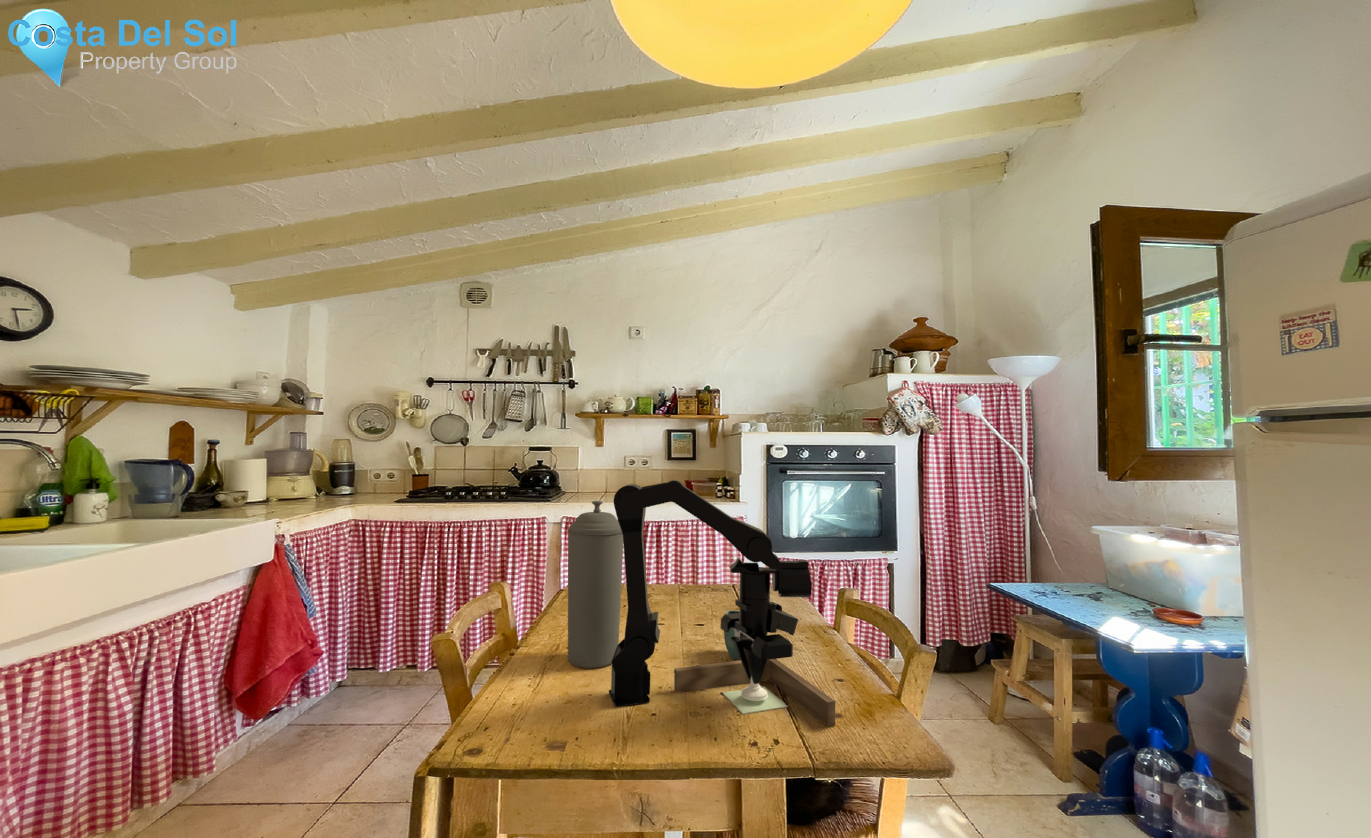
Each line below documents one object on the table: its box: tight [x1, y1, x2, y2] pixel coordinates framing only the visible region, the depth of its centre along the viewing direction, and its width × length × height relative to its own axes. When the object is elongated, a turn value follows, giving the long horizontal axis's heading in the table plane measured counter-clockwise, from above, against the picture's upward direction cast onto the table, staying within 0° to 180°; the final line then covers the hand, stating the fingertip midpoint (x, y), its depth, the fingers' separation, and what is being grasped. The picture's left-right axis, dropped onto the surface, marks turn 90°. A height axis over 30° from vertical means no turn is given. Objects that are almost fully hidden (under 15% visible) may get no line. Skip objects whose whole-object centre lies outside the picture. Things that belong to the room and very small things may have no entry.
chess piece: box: [741, 677, 768, 701], centre depth 103 cm, size 5×5×10 cm
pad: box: [722, 686, 789, 715], centre depth 102 cm, size 9×9×1 cm
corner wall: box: [673, 659, 836, 728], centre depth 100 cm, size 22×22×4 cm
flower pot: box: [723, 610, 740, 660], centre depth 125 cm, size 9×9×9 cm
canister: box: [566, 500, 624, 669], centre depth 122 cm, size 13×13×35 cm
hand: (753, 681), depth 102 cm, fingers closed on chess piece
